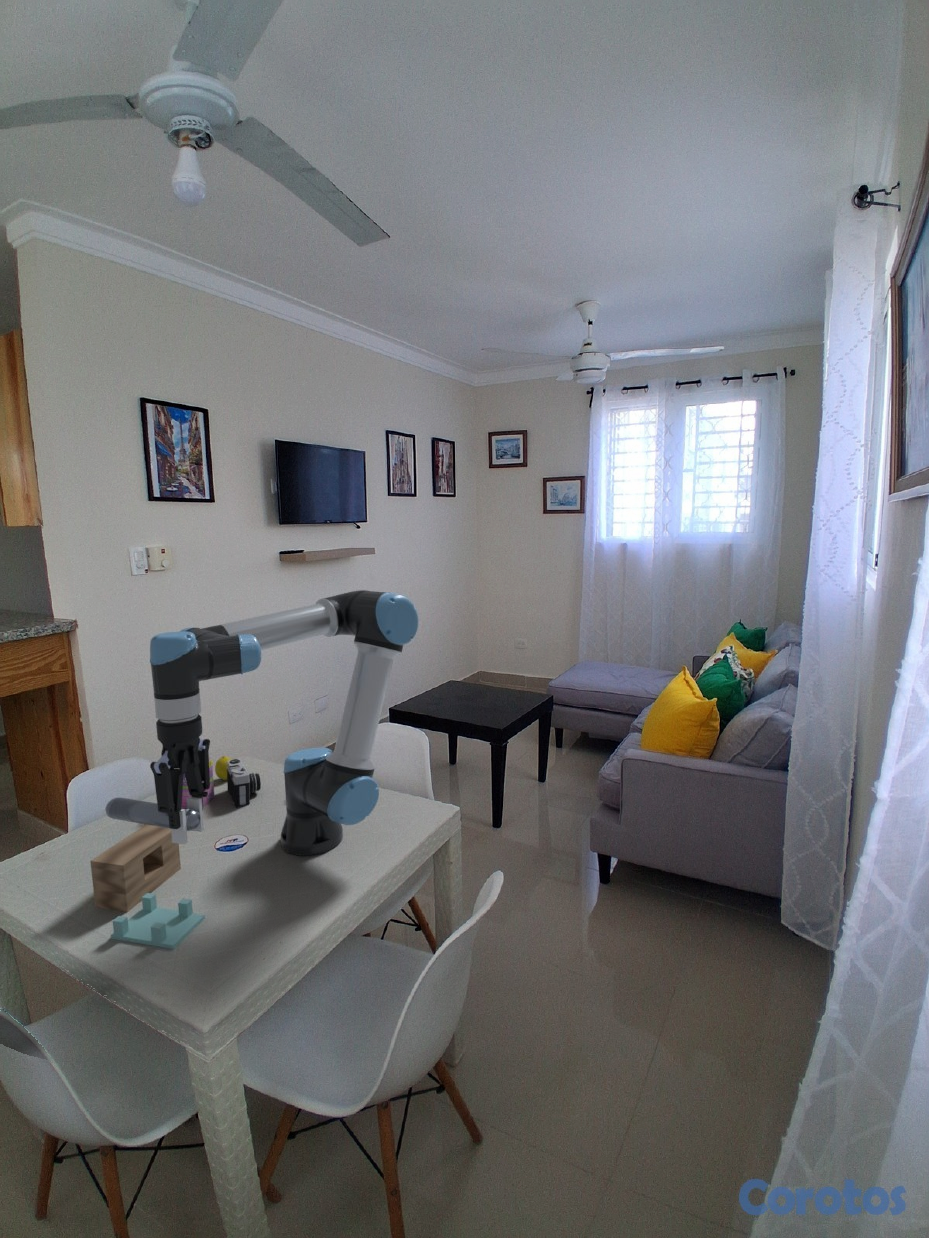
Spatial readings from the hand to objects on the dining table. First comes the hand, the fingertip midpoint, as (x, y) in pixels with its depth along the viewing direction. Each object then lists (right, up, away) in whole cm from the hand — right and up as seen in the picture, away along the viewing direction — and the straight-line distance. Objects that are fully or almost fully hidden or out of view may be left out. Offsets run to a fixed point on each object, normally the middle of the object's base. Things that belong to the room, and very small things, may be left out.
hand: (188, 835), depth 112 cm
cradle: (-9, -20, +5) cm, 23 cm away
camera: (-13, -12, +63) cm, 65 cm away
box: (-24, -12, +59) cm, 65 cm away
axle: (-7, +2, +1) cm, 8 cm away
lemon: (-23, -10, +74) cm, 78 cm away
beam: (-19, -18, +19) cm, 33 cm away
